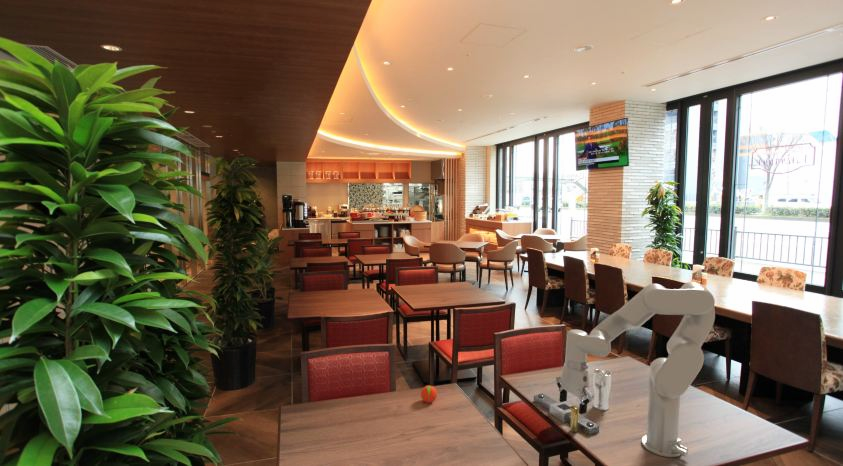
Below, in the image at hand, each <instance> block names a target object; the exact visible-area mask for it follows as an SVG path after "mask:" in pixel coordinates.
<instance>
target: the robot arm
mask: <svg viewBox="0 0 843 466" xmlns="http://www.w3.org/2000/svg"><path fill="white" fill-rule="evenodd" d="M656 314H657V315H666V316H667V315H669V316H676V315H677V316H683V317H682V318H681V321H680V322H679V325H678V326H677V327H676V329H675V330H674V332H673V334H672V335H671V336H670V338H669V340H668V341H667V342H666V351H667V353H668V355H667V357H658V358H656V359H654V360H653V361H652V362H651V363H650V365H649V367H648V401H647V402H648V403H647V404H648V405H647V422H646V423H647V425H646V426H647V427H646V434H645V435H643V436H642V438H641V445H642V446H643V448H645V449H646V450H647V451H649V452H650V453H652V454H655V455H657V456H662V457H667V458H675V457H680V456H682V457H684V458H687V457H688V455H689V454H688V451H689V448H688V447H686V446H684V445H682V444H681V443H682V439H680V438H679V426H680V425H679V422H680V407H681V406H680V405H681V396H683V395H684V394H685V393H686V391H687V390H688V389H689V387H690V386H691V385H692V383H693V382H694V380H695V379H696V378H697V375H698V374H699V372H700V371H701V369H702V367H703V365H704V361H705V355H704V351H703V349H702V346H703V345H704V343H705V341H706V339H707V337H708V336H709V334H710V332H711V330H712V329H713V326H714V323H715V320H716V310H715V298H714V295H713V294H712V293H711V292H710V291H709V290H708V289H707V288H706V287H705V286H704V285H703V284H701V283H699V282H695V281H688V282H685V283H684V284H682V286H681V287H680V288H678V289H677V288H673V289H671V288H666V287H665V286H663V285H662V284H659V283H650V284H648V285H646V286H645V287H643V288H642V289H641V290H640V291H639V292H638V293H637V294H635V295H634V296H633V297H632V298H631V299H630V300H629V301H628V302H627V303H625V304H623V306H622V307H620V308H619V309H618V310H616V311H614V312H613V313H611V314H610V315H609V316H607V317H606V318H605V319H603V320H602V321H600V323H598V324H597V325H596V326H595V327H594V328H593V329H592V330H591V331H590V333H589V334H588V333H587V332H586V331H584V330H581V329H576V328H575V329H570V330H568V331H567V333H566V342H565V343H566V344H565V356H564V357H565V358H564V359H565V360H564V363H563V365H562V366H563V367H562V371H561V374H560V376H557V377H555V380H556V386H557V388H558V392H559V401H558V402H565V401H566V402H568V401H567V400H568V398H567V397H568V393H570V394H571V395H573V396H575V397H577V398H578V399H579V401H580V403H579V406H578V407H579V414H580V415H583V414H587V412H588V411H587V410H588V404H589V403H590V402H592V401H593V399H595V395H594V393H592V392H591V391H590V375H589V370H588V369H589V366H588V365H587V362H588V355H590V356H593V357H597V358H604V357H607V356H608V355H609V354H610V353H611V350H612V347H611V346H612V345H611V343H612V341H614V340H615V339H616V338H617V337H619V336H620V335H621V334H622V333H624V332H625V331H628V330H636V329H639V328H641V326H642V325H644V324H645V323H646V322H647V321H649V320H650V319H651V318H652V317H653V316H655V315H656Z"/></svg>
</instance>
